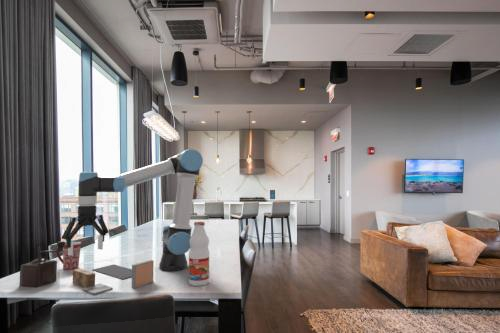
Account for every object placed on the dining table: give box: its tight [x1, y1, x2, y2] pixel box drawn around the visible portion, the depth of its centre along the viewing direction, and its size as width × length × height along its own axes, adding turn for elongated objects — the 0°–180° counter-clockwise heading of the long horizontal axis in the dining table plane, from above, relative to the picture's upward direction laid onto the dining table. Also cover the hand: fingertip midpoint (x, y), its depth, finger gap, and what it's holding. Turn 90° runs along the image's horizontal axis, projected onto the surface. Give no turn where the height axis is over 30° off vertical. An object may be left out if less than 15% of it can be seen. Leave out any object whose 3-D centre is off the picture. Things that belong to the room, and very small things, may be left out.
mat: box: [92, 263, 132, 281], centre depth 154 cm, size 12×28×1 cm, turn 56°
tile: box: [131, 259, 154, 289], centre depth 134 cm, size 10×2×10 cm, turn 146°
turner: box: [72, 267, 113, 296], centre depth 132 cm, size 24×8×6 cm, turn 56°
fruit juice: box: [188, 221, 210, 287], centre depth 137 cm, size 9×9×28 cm
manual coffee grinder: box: [18, 240, 66, 288], centre depth 140 cm, size 16×11×18 cm
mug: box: [55, 241, 82, 271], centre depth 162 cm, size 13×9×14 cm
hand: (85, 252), depth 134 cm, fingers open, 13 cm apart
